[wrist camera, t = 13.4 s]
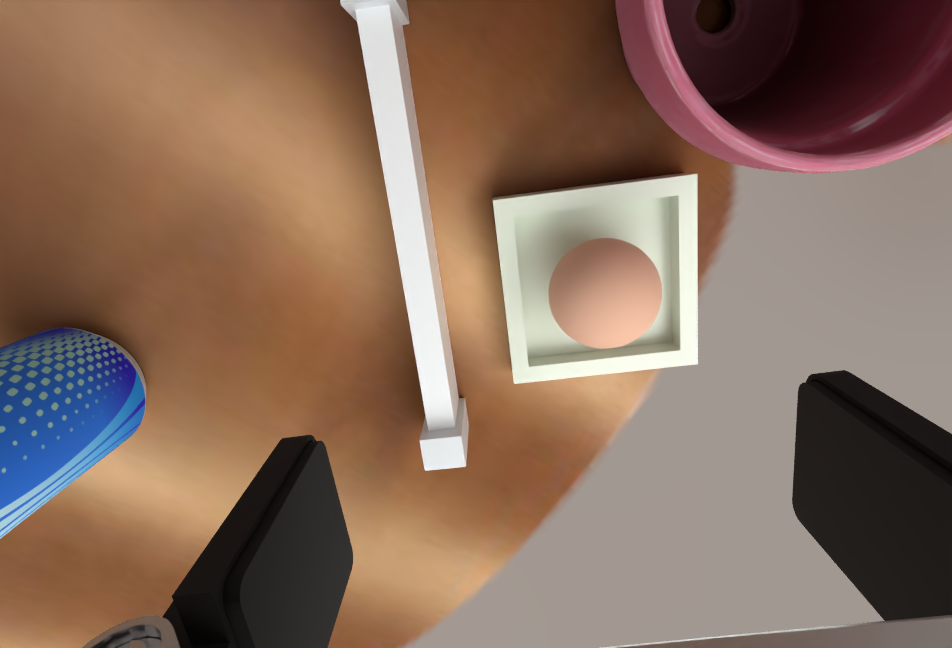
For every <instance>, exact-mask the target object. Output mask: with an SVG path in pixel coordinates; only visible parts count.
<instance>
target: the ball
mask: <svg viewBox="0 0 952 648" xmlns="http://www.w3.org/2000/svg"><path fill="white" fill-rule="evenodd" d="M548 296H549V304H550V309H551V312H552V315H553V317H554V319H555V321H556V322H557V324H558V325H559V327H560V328H561V329H562V330H563V331H564V332H565V333H566V334H567V335H568V336H569V337H571V338H572V339H574V340H575V341H577V342H579V343H581V344H583V345H586V346H589V347H594V348H601V349H609V348H616V347H620V346H624V345H626V344H628V343H631V342H633V341H634V340H636V339H637V338H639V337H640V336H642V335H643V334H644V333H645V332H646V331H647V330H648V329H649V328H650V326H651V325H652V324H653V322H654V320H655V319H656V317H657V315H658V312H659V309H660V306H661V301H662V284H661V279H660V276H659V273H658V271H657V268H656V267H655V265H654V263H653V262H652V260H651V259H650V258H649V257H648V256H647V255H646V254H645V253H644V252H643V251H642V250H641V249H639V248H638V247H637V246H635V245H633V244H631V243H629V242H626V241H623V240H619V239H615V238H598V239H593V240H589V241H586V242H583V243H581V244H579V245H577V246H576V247H574V248H572V249H571V250H570V251H569V252H567V253H566V254H565V255H564V256H563V257H562V258H561V260H560V261H559V263H558V264H557V266H556V267H555V269H554V271H553V274H552V276H551V279H550V283H549V290H548Z"/></svg>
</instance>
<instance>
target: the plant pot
mask: <svg viewBox="0 0 952 648" xmlns="http://www.w3.org/2000/svg"><path fill="white" fill-rule="evenodd" d="M701 1H702V0H615V3H616V14H617V20H618V26H619V31H620V36H621V40H622V46H623V52H624V56H625V60H626V63H627V66H628V68H629V71H630V73H631V75H632V77H633V79H634V81H635V82H636V84H637V85H638V87H639V88H640V89H641V90H642V92H643V93H644V95H645V97H646V98H647V100H648V102H649V103H650V104H651V106H652V107H653V108H654V110H655V111H656V112H657V113H658V115H659V116H660V117H661V118H662V119H663V120H664V121H665V122H666V123H667V124H668V125H669V126H670V127H671V128H672V129H673V130H674V131H675V132H676V133H677V134H679V135H680V136H681V137H682V138H684V139H685V140H686V141H688V142H689V143H691V144H692V145H694V146H695V147H697V148H699V149H701V150H702V151H704V152H706V153H708V154H710V155H712V156H715V157H717V158H719V159H721V160H724V161H728V162H731V163H734V164H738V165H742V166H748V167H752V168H758V169H765V170H773V171H784V172H798V173H826V172H839V171H848V170H857V169H863V168H869V167H873V166H877V165H881V164H884V163H887V162H890V161H894V160H897V159H899V158H902V157H905V156H907V155H909V154H912V153H914V152H916V151H919V150H921V149H923V148H924V147H927V146H929V145H930V144H932V143H934V142H936V141H938V140H939V139H941V138H943V137H945V136H947V135H948V134H950V133H951V132H952V0H728V1H729V3H730V6H731V10H732V11H731V18H730V20H729V22H728V24H727V25H726V27H725V28H724V29H722V30H721V31H719V32H717V33H709V32H706V31H704V30H703V29H702V28H701V27H700V25H699V24H698V21H697V16H696V15H697V9H698V6H699V4H700V2H701Z"/></svg>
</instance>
